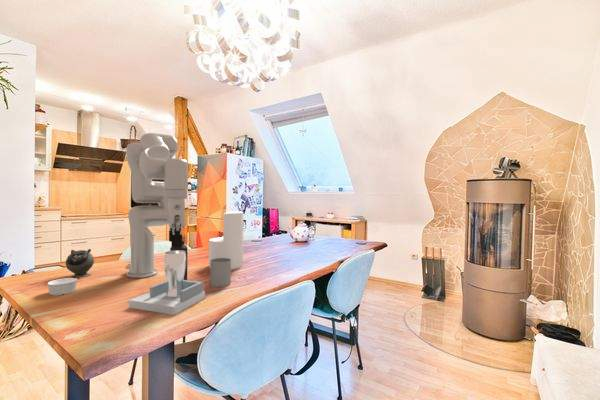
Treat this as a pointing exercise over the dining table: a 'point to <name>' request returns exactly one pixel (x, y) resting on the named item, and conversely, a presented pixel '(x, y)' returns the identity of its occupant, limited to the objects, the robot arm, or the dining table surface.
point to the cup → (220, 272)
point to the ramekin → (62, 286)
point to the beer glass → (175, 272)
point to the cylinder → (229, 240)
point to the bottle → (183, 250)
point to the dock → (167, 305)
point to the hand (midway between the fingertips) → (175, 243)
